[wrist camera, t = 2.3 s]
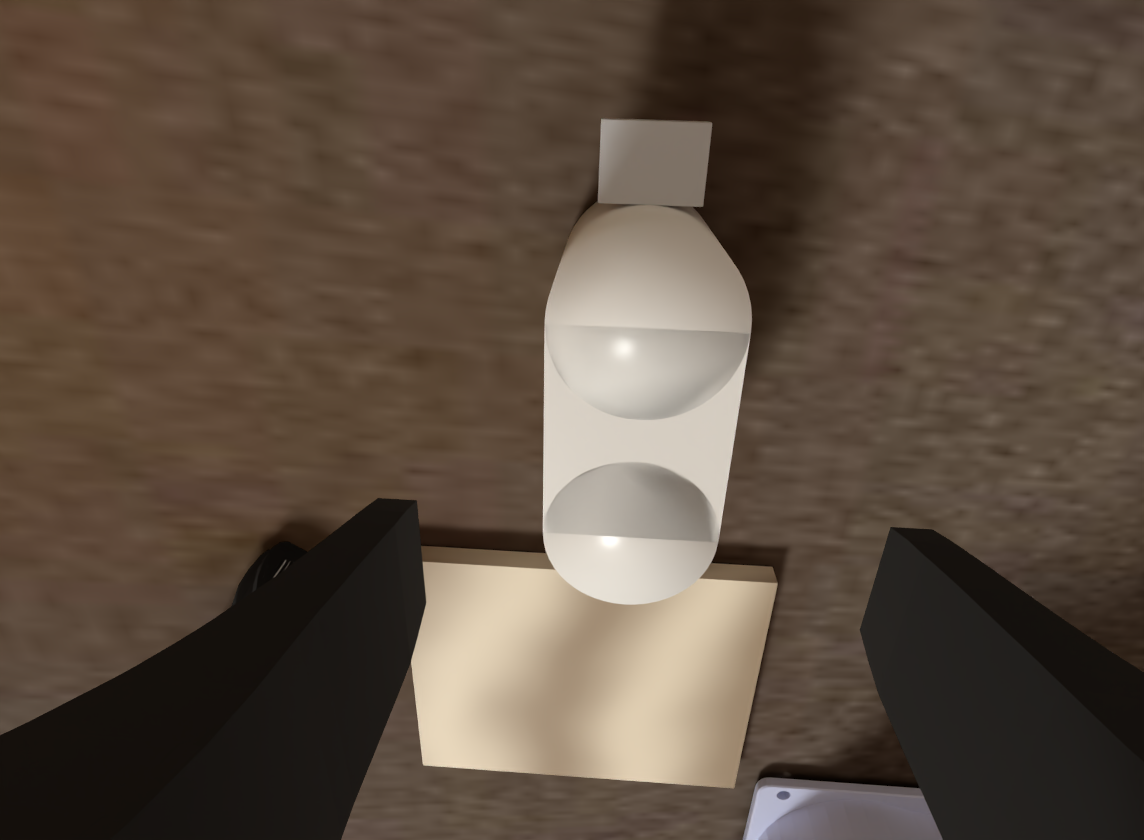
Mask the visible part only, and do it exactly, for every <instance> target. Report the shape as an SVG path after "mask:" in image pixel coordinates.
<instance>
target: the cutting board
mask: <svg viewBox="0 0 1144 840" xmlns="http://www.w3.org/2000/svg"><path fill="white" fill-rule="evenodd" d="M421 551H422V561H423V572H424V582H425V593H426V606H425V610H424V614H423V618H422V622H421V626H420V630H419V634H418V638H417V641H416V645H415V649H414V652H413V656H412V659H411V664H412V672H413V681H414V690H415V699H416V707H417V716H418V725H419V734H420V742H421V751H422V760H423V765H427V766H440V767H454V768H467V769H481V770H494V771H508V772H521V773H535V774H548V775H562V776H575V777H589V778H602V779H616V780H629V781H643V782H656V783H670V784H683V785H697V786H710V787H724V788H734V786H735V781H736V776H737V772H738V767H739V762H740V758H741V753H742V748H743V744H744V739H745V734H746V730H747V725H748V720H749V716H750V711H751V706H752V702H753V697H754V692H755V688H756V683H757V678H758V674H759V669H760V664H761V660H762V655H763V650H764V646H765V641H766V636H767V632H768V627H769V622H770V618H771V613H772V608H773V604H774V599H775V594H776V590H777V585H778V582H777V579H776V576H775V573H774V570H773V567H768V566H751V565H734V564H718V563H710V565H709V567H708V568H707V570H706V571H705V572H704V574H703V575H702V576H701V577H700V578H699V579H698V580H697V581H696V582H695V583H694V584H692V585H691V586H690V587H688V588H687V589H685V590H684V591H682V592H680V593H678V594H676V595H674V596H672V597H669V598H667V599H664V600H661V601H657V602H652V603H647V604H637V605H624V604H616V603H610V602H606V601H602V600H599V599H596V598H593V597H591V596H588V595H586V594H584V593H582V592H581V591H579V590H577V589H575V588H574V587H573V586H571V585H570V584H569V583H568V582H566V581H565V580H564V579H563V578H562V577H561V576H560V575H559V573H558V572H557V571H556V570H555V568H554V567H553V565H552V563H551V562H550V560H549V558H548V555H547V553H533V552H517V551H500V550H483V549H466V548H450V547H433V546H421Z"/></svg>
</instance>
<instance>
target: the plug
mask: <svg viewBox="0 0 1144 840" xmlns="http://www.w3.org/2000/svg"><path fill="white" fill-rule="evenodd" d="M711 132H712V123H711V122H708V121H681V120H649V119H618V118H602V119H601V139H600V162H599V186H598V201H597V202H596V203H594V204H593V205H592V206H591V207H590V208H588V209H587V210H586V211H585V213H584V214H583V215H582V216H581V217H580V218H579V220H578V221H577V223H576V224H575V225H574V227H573V229H572V231H571V233H570V235H569V238H568V241H567V243H566V246H565V249H564V252H563V255H562V258H561V261H560V265H559V268H558V271H557V274H556V277H555V280H554V283H553V286H552V289H551V292H550V295H549V298H548V302H547V307H546V313H545V345H544V467H543V540H544V545H545V550H546V553H547V555H548V558H549V560H550V562H551V563H552V565H553V567H554V568H555V570H556V571H557V572H558V573H559V575H560V576H561V577H562V578H563V579H564V580H565V581H566V582H568V583H569V584H570V585H571V586H573V587H574V588H575V589H577V590H579V591H581V592H582V593H584V594H586V595H588V596H591V597H593V598H596V599H599V600H602V601H606V602H610V603H616V604H624V605H637V604H647V603H652V602H657V601H661V600H664V599H667V598H669V597H672V596H674V595H676V594H678V593H680V592H682V591H684V590H685V589H687V588H688V587H690V586H691V585H692V584H694V583H695V582H696V581H697V580H698V579H699V578H700V577H701V576H702V575H703V574H704V572H705V571H706V570H707V568H708V567H709V565H710V563H711V562H712V560H713V558H714V555H715V553H716V549H717V545H718V540H719V533H720V527H721V521H722V514H723V508H724V501H725V495H726V489H727V482H728V476H729V469H730V463H731V457H732V450H733V444H734V437H735V431H736V425H737V418H738V412H739V405H740V399H741V393H742V386H743V380H744V374H745V367H746V361H747V354H748V348H749V342H750V335H751V325H752V311H751V303H750V298H749V293H748V290H747V288H746V285H745V282H744V280H743V278H742V276H741V274H740V272H739V270H738V269H737V267H736V266H735V264H734V263H733V261H732V260H731V258H730V257H729V256H728V254H727V253H726V251H725V250H724V248H723V247H722V245H721V244H720V243H719V241H718V240H717V238H716V237H715V235H714V234H713V233H712V231H711V230H710V228H709V227H708V225H707V224H706V222H705V221H704V220H703V218H702V217H701V216H700V214H699V213H698V212H697V211H696V210H695V209H694V208H693V207H703V203H704V194H705V185H706V176H707V167H708V158H709V149H710V141H711Z"/></svg>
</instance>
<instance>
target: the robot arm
mask: <svg viewBox="0 0 1144 840" xmlns="http://www.w3.org/2000/svg"><path fill="white" fill-rule="evenodd" d="M425 606H426V593H425V582H424V572H423V561H422V551H421V540H420V530H419V519H418V509H417V500H400V499H382V498H378V499H376V500H375V501H374V502H372V503H371V504H369V505H368V506H367V507H365V508H364V509H363V510H361V511H360V512H359V513H358V514H356V515H355V516H354V517H352V518H351V519H350V520H349V521H347V522H346V523H345V524H343V525H342V526H341V527H340V528H338V529H337V530H336V531H335V532H333V533H332V534H331V535H329V536H328V537H327V538H326V539H324V540H323V541H322V542H320V543H319V544H318V545H316V546H315V547H314V548H313V549H311V550H310V551H309V552H307V553H306V554H305V555H303V556H302V557H301V558H299V559H298V560H297V561H295V562H294V563H293V564H291V565H290V566H289V567H287V568H286V569H285V570H284V571H282V572H281V573H279V574H278V575H277V576H275V577H274V578H272V579H271V580H270V581H268V582H267V583H265V584H264V585H262V586H261V587H259V588H258V589H257V590H255V591H254V592H252V593H251V594H249V595H248V596H246V597H245V598H244V599H242V600H241V601H239V602H238V603H236V604H235V605H233V606H232V607H231V608H229V609H228V610H226V611H225V612H223V613H222V614H220V615H219V616H218V617H216V618H215V619H213V620H211V621H210V622H208V623H207V624H205V625H204V626H202V627H201V628H199V629H197V630H196V631H194V632H192V633H191V634H189V635H188V636H186V637H184V638H183V639H181V640H180V641H178V642H176V643H175V644H173V645H171V646H169V647H168V648H166V649H164V650H163V651H161V652H159V653H157V654H156V655H154V656H152V657H151V658H149V659H147V660H145V661H144V662H142V663H140V664H139V665H137V666H135V667H133V668H132V669H130V670H128V671H126V672H124V673H123V674H121V675H119V676H117V677H115V678H113V679H111V680H109V681H107V682H105V683H104V684H102V685H100V686H98V687H96V688H94V689H92V690H90V691H88V692H86V693H84V694H82V695H80V696H78V697H76V698H74V699H72V700H70V701H68V702H67V703H65V704H63V705H61V706H59V707H57V708H55V709H53V710H51V711H49V712H47V713H45V714H43V715H41V716H39V717H37V718H35V719H33V720H31V721H30V722H27V723H25V724H23V725H21V726H19V727H17V728H15V729H13V730H11V731H8V732H6V733H4V734H2V735H0V840H341V838H342V835H343V832H344V830H345V827H346V824H347V821H348V818H349V816H350V813H351V810H352V807H353V805H354V802H355V800H356V797H357V795H358V792H359V790H360V787H361V785H362V782H363V780H364V777H365V775H366V772H367V770H368V767H369V765H370V763H371V760H372V758H373V755H374V753H375V750H376V748H377V745H378V743H379V740H380V738H381V735H382V733H383V731H384V728H385V726H386V723H387V721H388V718H389V716H390V713H391V711H392V708H393V706H394V703H395V701H396V698H397V696H398V693H399V691H400V688H401V686H402V683H403V681H404V678H405V676H406V673H407V670H408V668H409V665H410V663H411V659H412V656H413V652H414V649H415V645H416V641H417V638H418V634H419V630H420V626H421V622H422V618H423V614H424V610H425ZM860 632H861V636H862V639H863V643H864V647H865V650H866V654H867V658H868V661H869V665H870V668H871V671H872V674H873V678H874V681H875V684H876V687H877V691H878V694H879V696H880V698H881V701H882V703H883V706H884V708H885V710H886V713H887V715H888V717H889V719H890V722H891V724H892V726H893V729H894V731H895V733H896V736H897V738H898V740H899V742H900V745H901V747H902V749H903V751H904V754H905V756H906V758H907V760H908V763H909V765H910V767H911V769H912V772H913V774H914V776H915V778H916V781H917V783H918V785H919V787H920V788H909V787H896V786H882V785H868V784H855V783H841V782H827V781H814V780H800V779H786V778H773V777H767V778H763V779H761V780H759V781H758V782H757V784H756V786H755V790H754V794H753V798H752V803H751V807H750V811H749V815H748V820H747V824H746V828H745V832H744V836H743V840H1144V672H1142V671H1140V670H1139V669H1137V668H1136V667H1134V666H1133V665H1131V664H1129V663H1128V662H1126V661H1125V660H1123V659H1122V658H1120V657H1119V656H1117V655H1115V654H1114V653H1112V652H1111V651H1109V650H1108V649H1106V648H1105V647H1103V646H1102V645H1100V644H1099V643H1097V642H1096V641H1094V640H1093V639H1091V638H1090V637H1088V636H1087V635H1085V634H1084V633H1082V632H1081V631H1079V630H1078V629H1076V628H1075V627H1074V626H1072V625H1071V624H1069V623H1068V622H1066V621H1065V620H1063V619H1062V618H1060V617H1059V616H1058V615H1056V614H1055V613H1053V612H1052V611H1050V610H1049V609H1048V608H1046V607H1045V606H1043V605H1042V604H1040V603H1039V602H1038V601H1036V600H1035V599H1033V598H1032V597H1030V596H1029V595H1028V594H1026V593H1025V592H1023V591H1022V590H1021V589H1019V588H1018V587H1016V586H1015V585H1013V584H1012V583H1011V582H1009V581H1008V580H1006V579H1005V578H1004V577H1002V576H1001V575H999V574H998V573H997V572H995V571H994V570H992V569H991V568H990V567H988V566H987V565H985V564H984V563H982V562H981V561H980V560H978V559H977V558H975V557H974V556H972V555H971V554H969V553H968V552H967V551H965V550H964V549H962V548H961V547H959V546H958V545H956V544H955V543H953V542H952V541H950V540H949V539H947V538H946V537H944V536H942V535H941V534H939V533H937V532H936V531H934V530H931V529H914V528H896V527H891V528H890V531H889V534H888V538H887V541H886V544H885V548H884V551H883V554H882V558H881V561H880V564H879V568H878V571H877V574H876V578H875V581H874V584H873V588H872V591H871V595H870V598H869V601H868V605H867V608H866V611H865V615H864V618H863V621H862V625H861V628H860Z"/></svg>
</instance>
